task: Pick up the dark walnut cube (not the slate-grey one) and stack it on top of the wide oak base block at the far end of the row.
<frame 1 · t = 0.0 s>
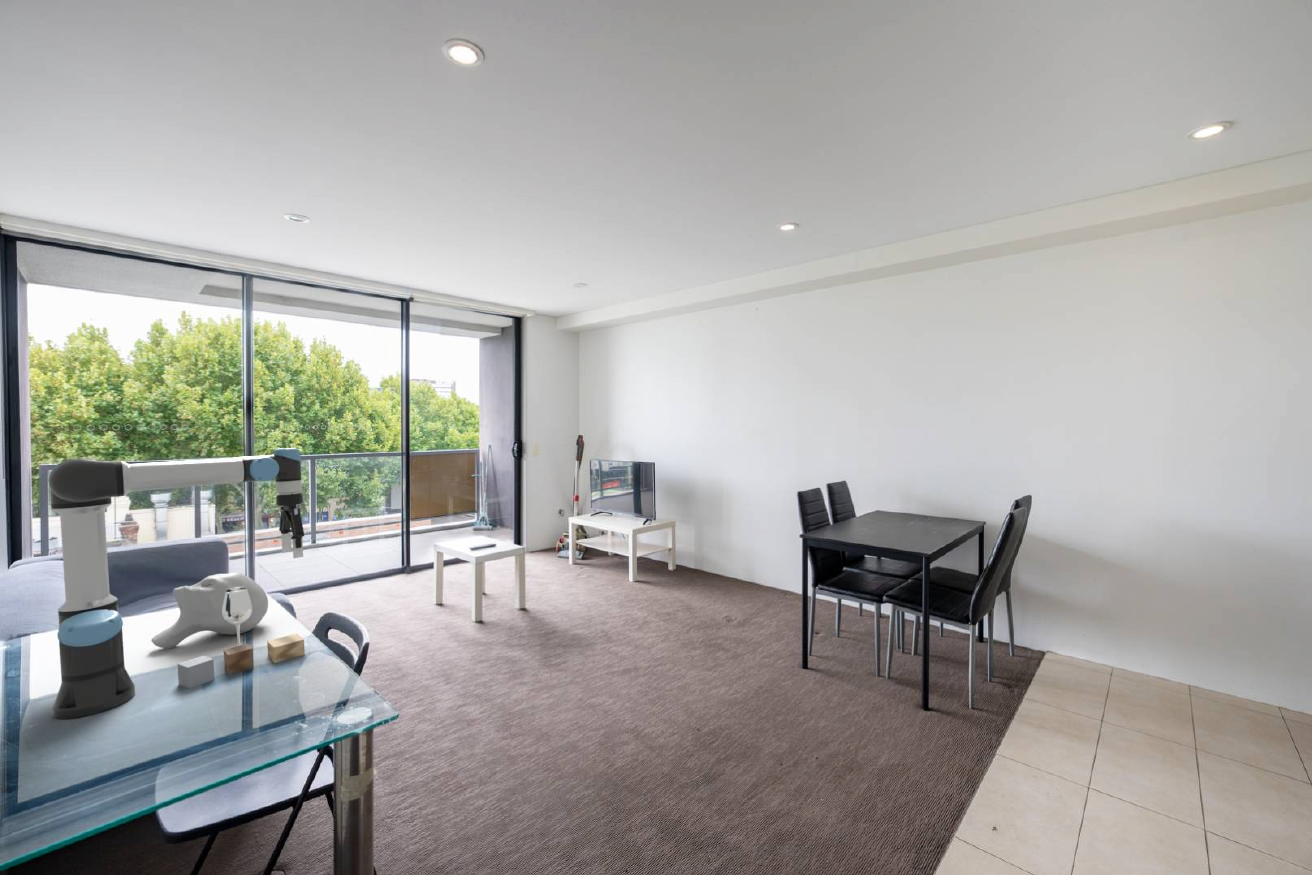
hand: (292, 554, 190), 28 cm above the table, fingers open, 13 cm apart
walnut block: (239, 668, 165), on the table
alien head: (214, 637, 192), on the table
grey block: (196, 682, 157), on the table
wineglass: (239, 651, 179), on the table
base block: (286, 655, 174), on the table
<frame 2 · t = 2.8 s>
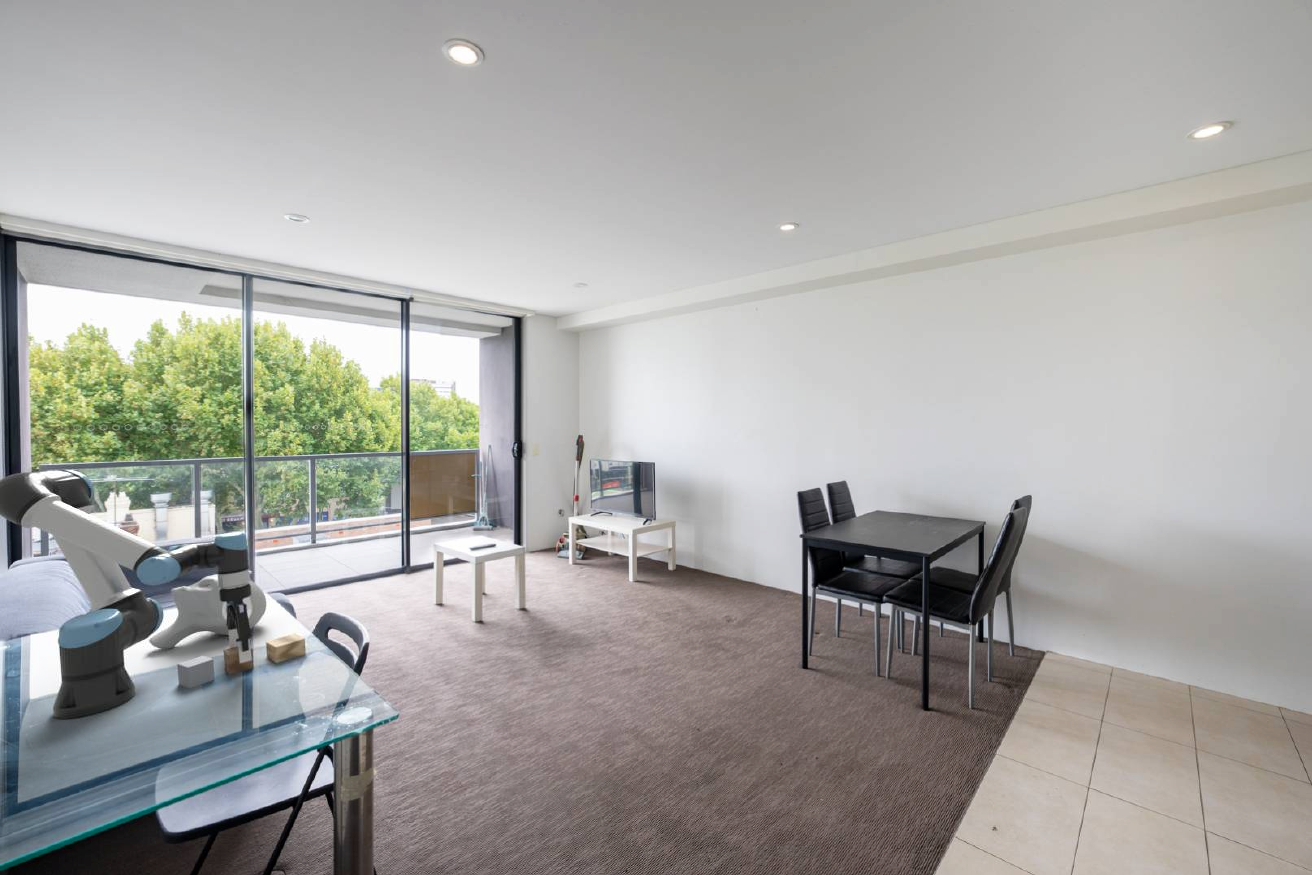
hand: (240, 655, 165), 4 cm above the table, fingers open, 13 cm apart
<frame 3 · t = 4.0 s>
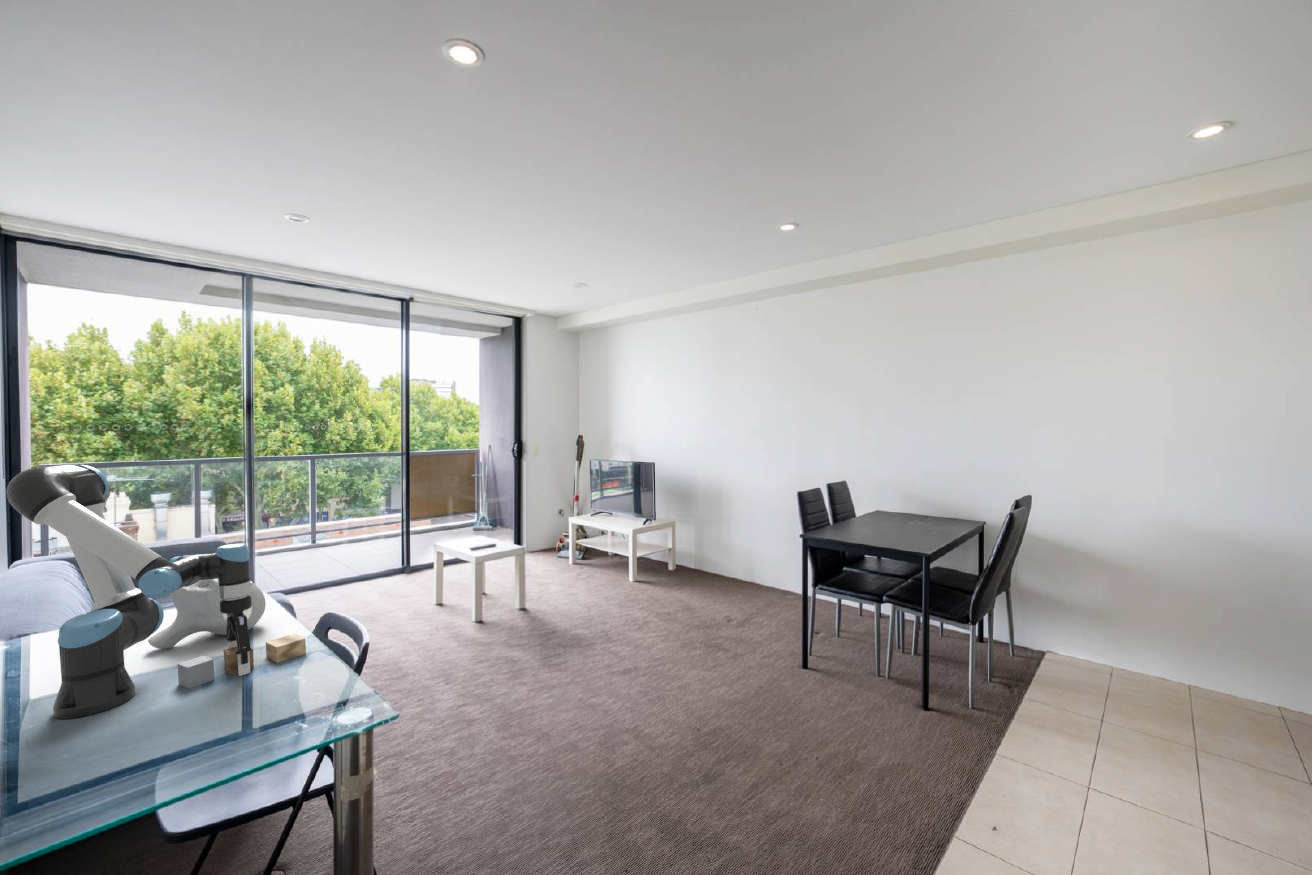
hand: (239, 667, 165), 0 cm above the table, fingers open, 12 cm apart
nothing on the table moved.
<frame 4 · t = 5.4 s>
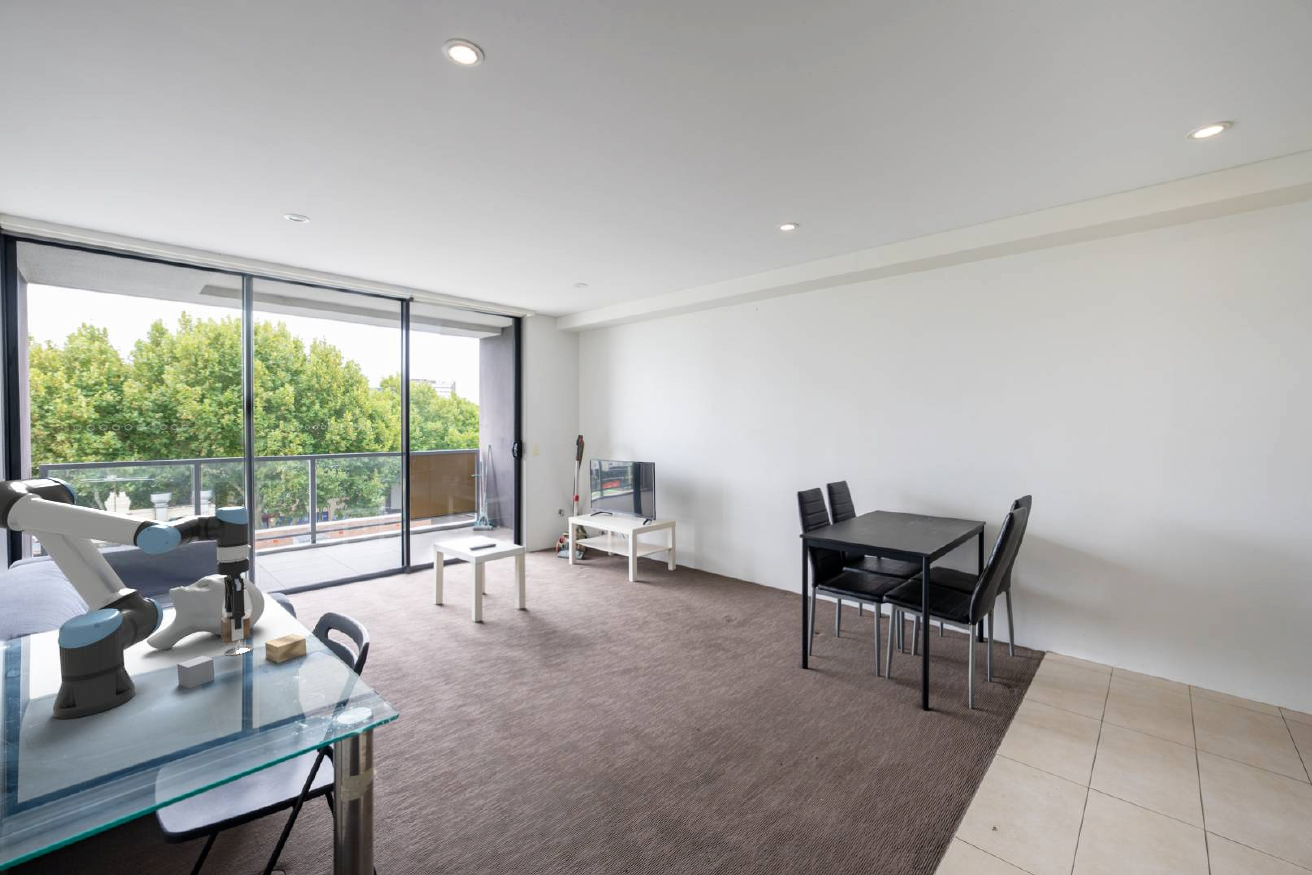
hand: (235, 636, 164), 10 cm above the table, fingers closed on walnut block, 6 cm apart
walnut block: (235, 637, 164), point 9 cm above the table, touching gripper
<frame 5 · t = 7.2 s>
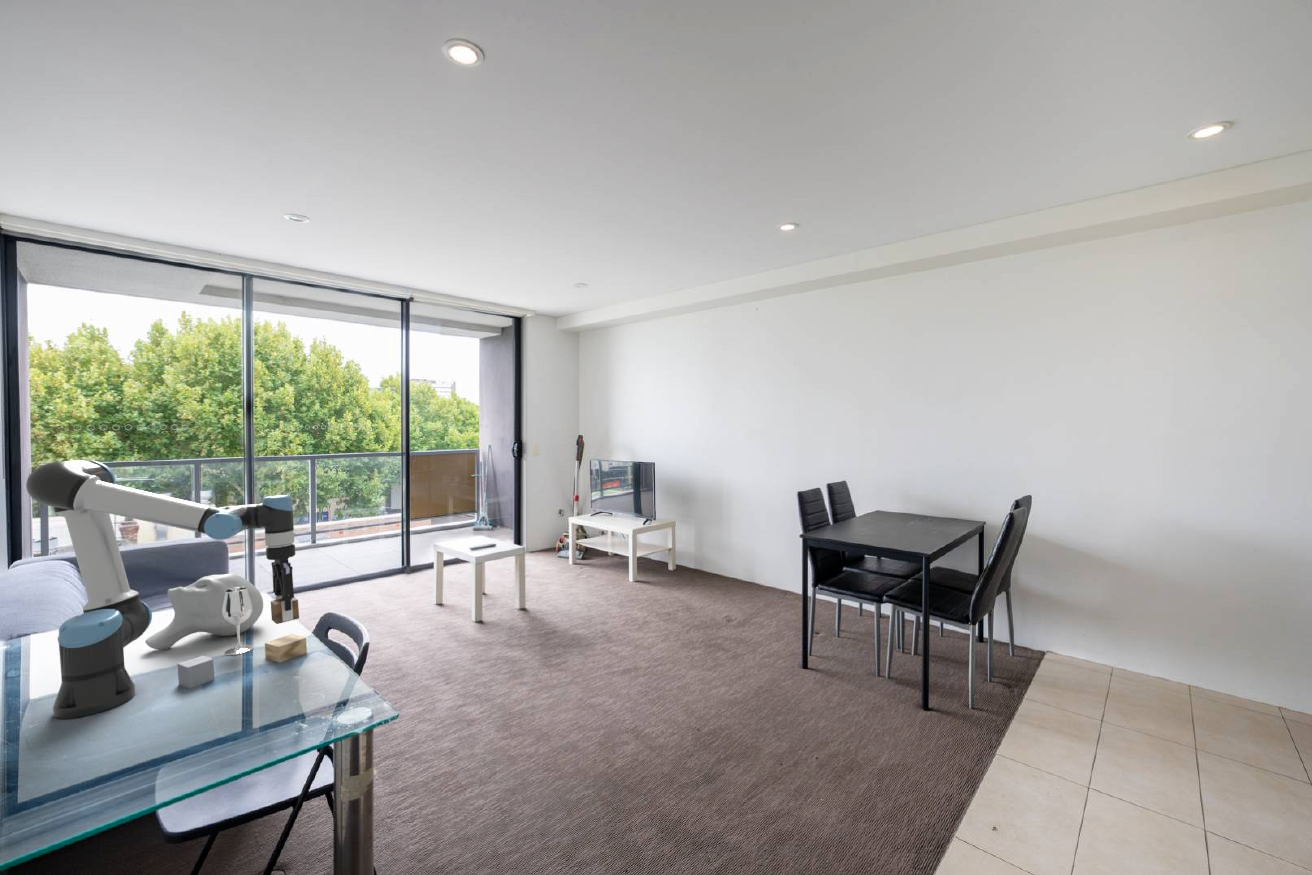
hand: (284, 617, 173), 12 cm above the table, fingers closed on walnut block, 6 cm apart
walnut block: (285, 619, 173), point 11 cm above the table, touching gripper
when the fingers open (5 cm above the table, at t = 9.1 s): walnut block stays where it is, resting on base block.
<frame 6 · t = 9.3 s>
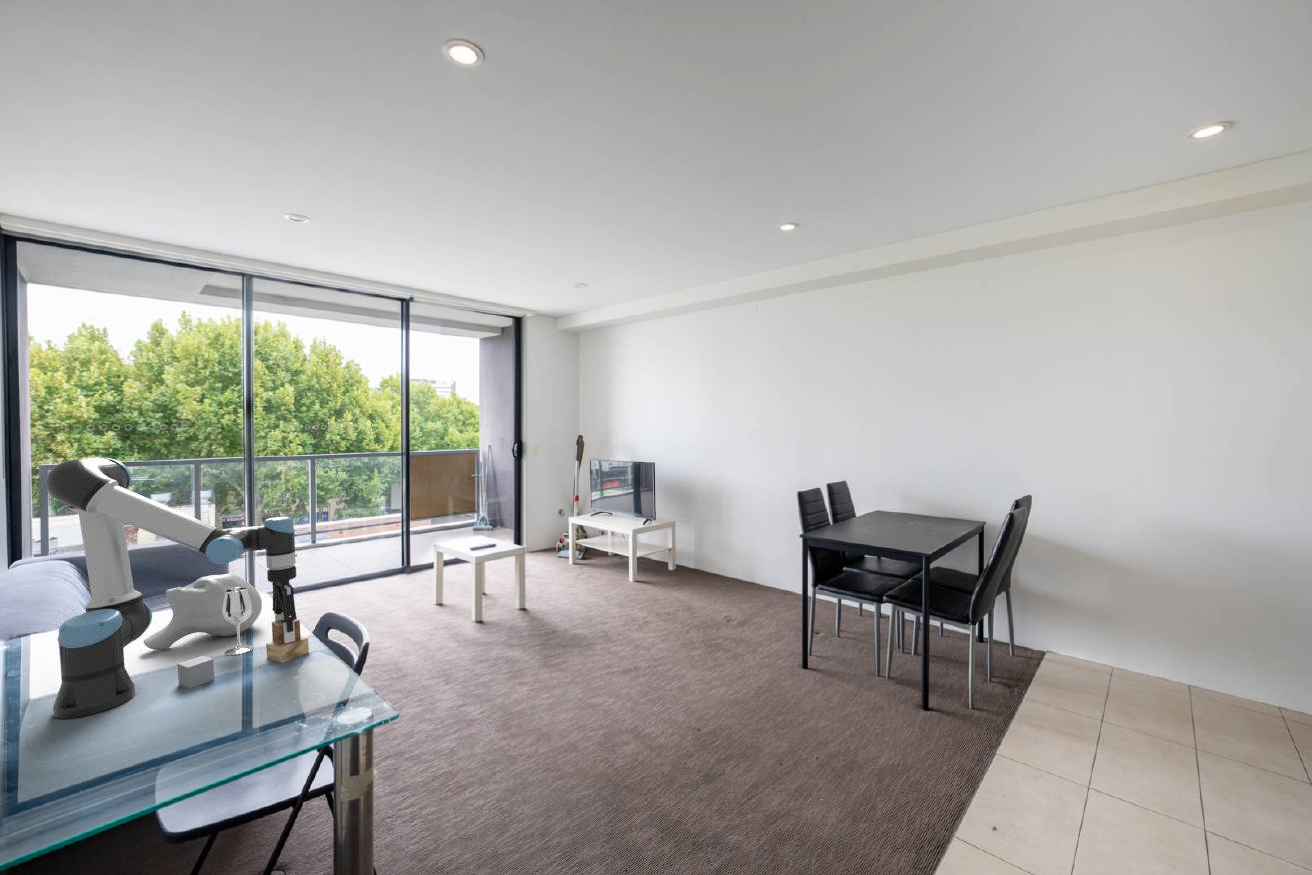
hand: (285, 637, 173), 6 cm above the table, fingers open, 9 cm apart
walnut block: (286, 640, 173), point 5 cm above the table, touching base block
base block: (288, 656, 173), on the table, touching walnut block
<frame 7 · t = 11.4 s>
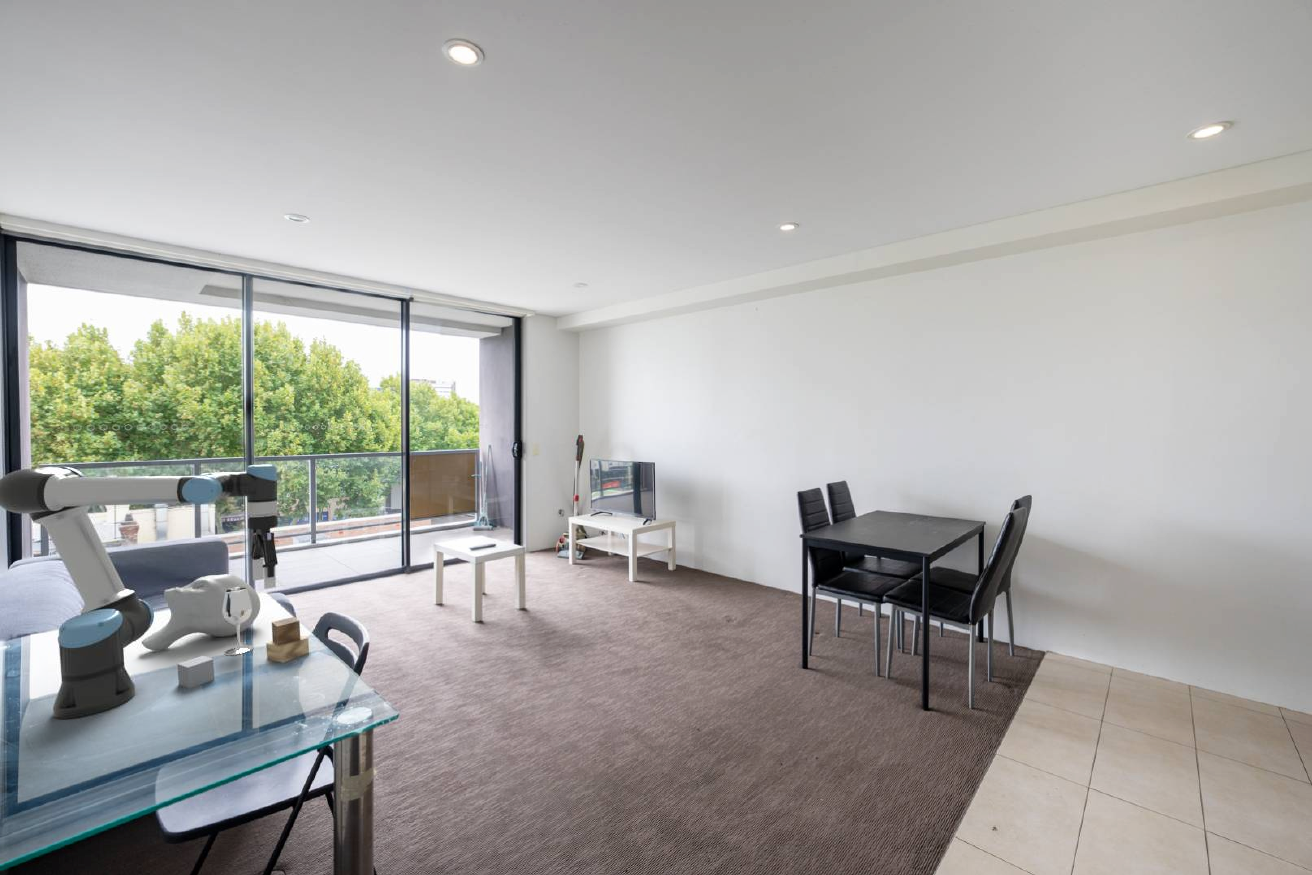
hand: (264, 583, 170), 24 cm above the table, fingers open, 13 cm apart
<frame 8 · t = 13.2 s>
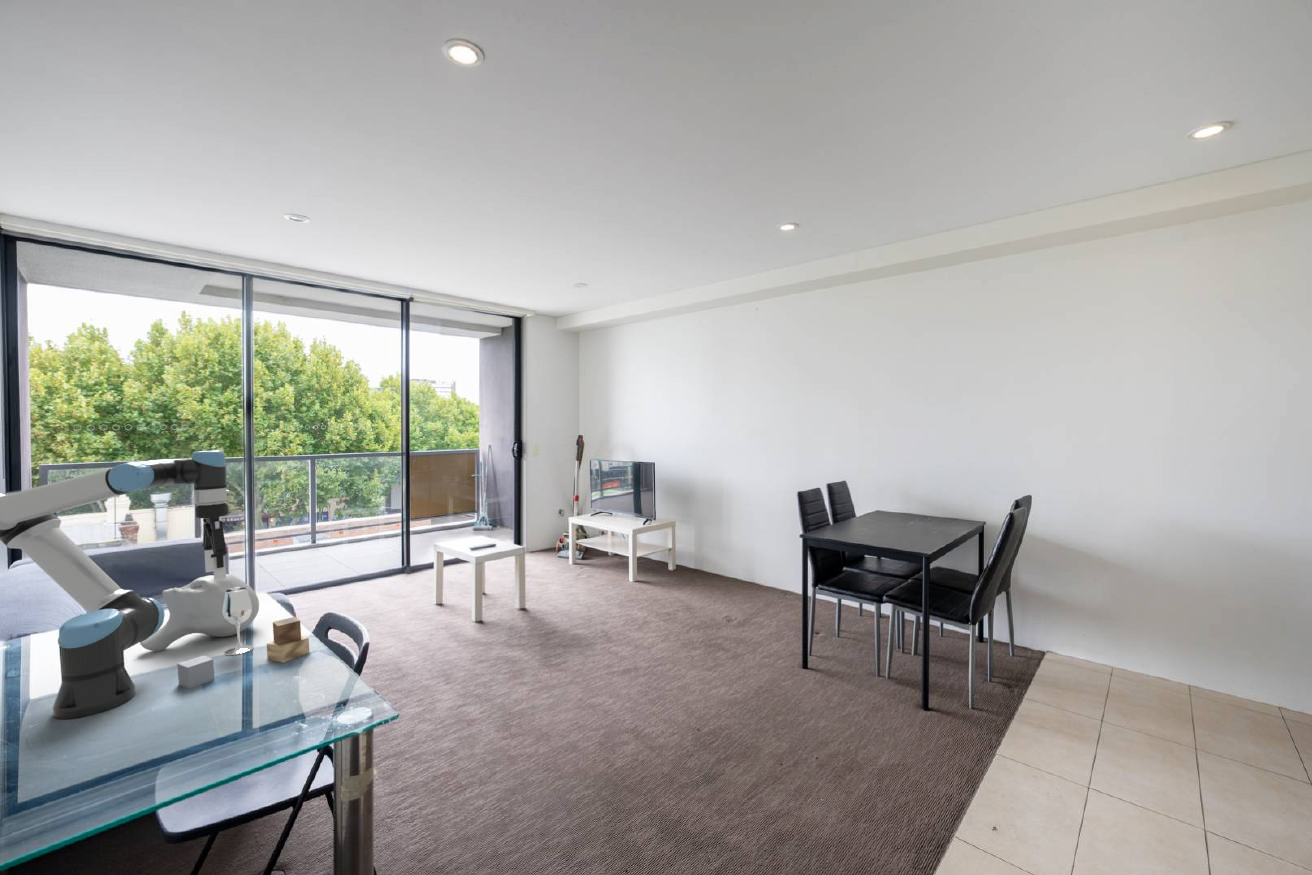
hand: (215, 575, 162), 29 cm above the table, fingers open, 13 cm apart
at the end: walnut block 0.3 cm off-centre on the base block, point 5.0 cm above the base block's base; walnut block tilted 0°; the gripper is holding nothing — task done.
